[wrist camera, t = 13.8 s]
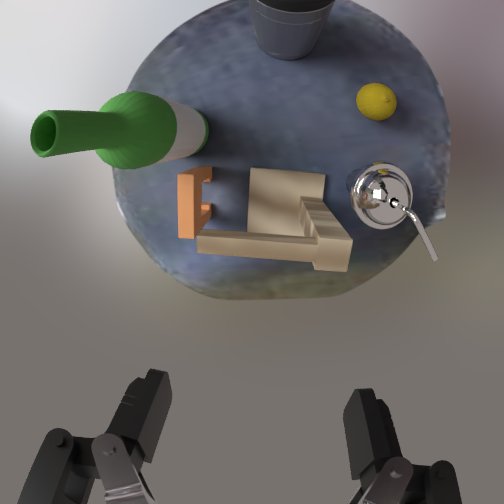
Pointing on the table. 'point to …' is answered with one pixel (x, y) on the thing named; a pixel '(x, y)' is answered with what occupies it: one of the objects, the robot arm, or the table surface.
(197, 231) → the c link
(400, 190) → the cup with straw
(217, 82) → the table surface
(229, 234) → the hook stand
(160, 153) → the wine bottle
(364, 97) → the lemon
